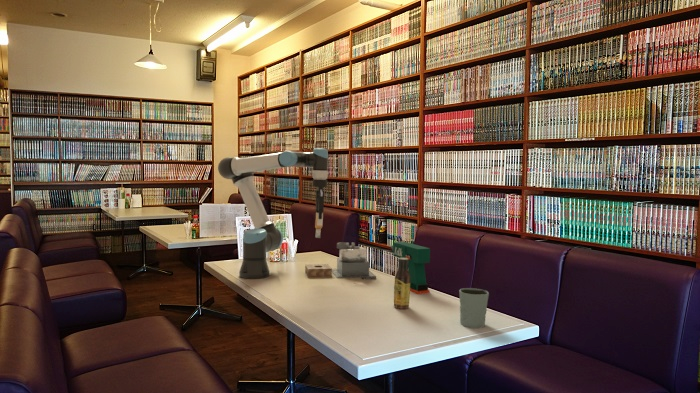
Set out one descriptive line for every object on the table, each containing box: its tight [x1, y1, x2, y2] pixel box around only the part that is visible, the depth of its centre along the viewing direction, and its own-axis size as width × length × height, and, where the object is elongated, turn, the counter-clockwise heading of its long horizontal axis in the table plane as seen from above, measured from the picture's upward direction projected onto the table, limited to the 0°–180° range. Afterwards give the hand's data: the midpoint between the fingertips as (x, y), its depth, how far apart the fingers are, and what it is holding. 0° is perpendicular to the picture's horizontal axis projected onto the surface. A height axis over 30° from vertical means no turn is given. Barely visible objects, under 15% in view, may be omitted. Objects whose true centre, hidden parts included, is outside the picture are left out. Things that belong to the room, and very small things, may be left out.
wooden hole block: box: [304, 263, 333, 278], centre depth 246 cm, size 12×12×5 cm
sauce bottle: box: [393, 257, 411, 310], centre depth 192 cm, size 7×6×20 cm
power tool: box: [389, 241, 431, 295], centre depth 229 cm, size 32×7×20 cm, turn 25°
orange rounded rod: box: [314, 213, 323, 239], centre depth 245 cm, size 4×4×12 cm
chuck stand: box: [332, 257, 377, 280], centre depth 250 cm, size 20×20×8 cm
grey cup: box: [458, 287, 490, 329], centre depth 172 cm, size 10×10×12 cm
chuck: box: [336, 241, 367, 262], centre depth 250 cm, size 15×14×9 cm
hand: (319, 224), depth 245 cm, fingers closed on orange rounded rod, 3 cm apart
